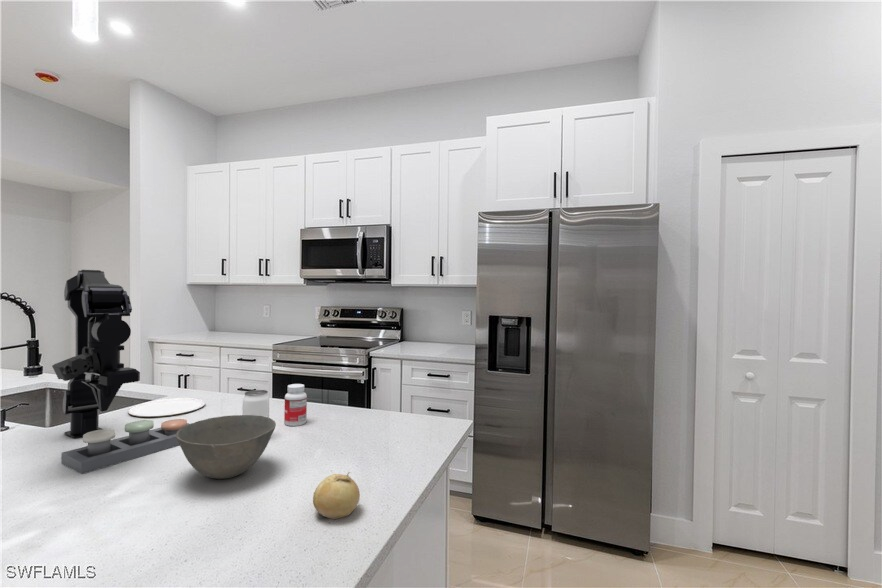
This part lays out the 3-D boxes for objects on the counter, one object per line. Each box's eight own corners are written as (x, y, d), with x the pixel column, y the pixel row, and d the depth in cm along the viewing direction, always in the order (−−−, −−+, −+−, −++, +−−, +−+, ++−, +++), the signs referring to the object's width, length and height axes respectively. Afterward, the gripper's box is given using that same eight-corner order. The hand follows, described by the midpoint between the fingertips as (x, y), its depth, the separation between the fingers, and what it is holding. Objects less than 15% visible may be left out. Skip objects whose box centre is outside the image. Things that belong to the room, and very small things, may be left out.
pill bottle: (286, 420, 126) (287, 383, 126) (307, 419, 127) (308, 383, 127) (282, 427, 120) (282, 388, 120) (304, 426, 121) (305, 387, 121)
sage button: (120, 442, 100) (120, 424, 100) (146, 435, 105) (146, 418, 105) (131, 447, 97) (132, 429, 97) (158, 439, 102) (158, 422, 102)
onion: (315, 529, 70) (316, 486, 69) (310, 506, 77) (310, 467, 77) (363, 519, 73) (364, 478, 73) (354, 498, 80) (354, 460, 80)
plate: (110, 416, 127) (110, 412, 127) (166, 399, 147) (166, 396, 147) (170, 421, 123) (170, 417, 123) (219, 403, 144) (219, 399, 144)
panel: (61, 463, 92) (61, 452, 92) (183, 430, 115) (183, 421, 115) (81, 474, 87) (81, 462, 87) (204, 437, 110) (204, 428, 110)
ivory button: (78, 453, 93) (78, 434, 93) (108, 445, 98) (108, 427, 98) (89, 458, 90) (89, 439, 90) (119, 450, 95) (120, 432, 95)
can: (258, 443, 107) (259, 396, 107) (236, 441, 108) (237, 394, 108) (273, 434, 113) (274, 390, 113) (252, 432, 114) (253, 388, 114)
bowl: (170, 504, 76) (170, 449, 76) (179, 465, 93) (180, 420, 93) (280, 484, 85) (280, 434, 85) (270, 451, 102) (271, 410, 101)
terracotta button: (156, 439, 107) (156, 423, 107) (179, 433, 112) (179, 417, 112) (168, 444, 104) (168, 427, 104) (191, 437, 109) (191, 421, 109)
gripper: (39, 341, 92) (38, 413, 92) (79, 349, 83) (78, 428, 83) (100, 337, 102) (99, 402, 102) (141, 343, 93) (140, 414, 93)
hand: (103, 410), depth 95 cm, fingers closed
